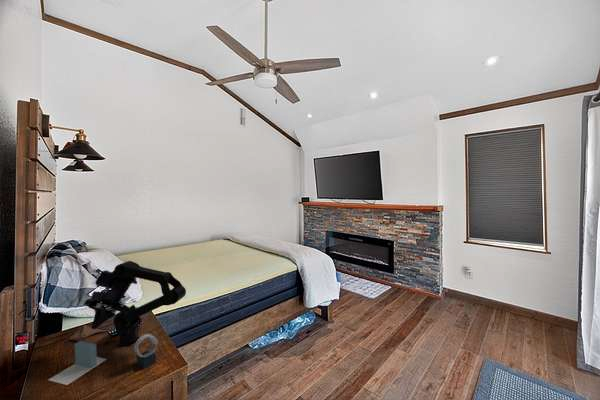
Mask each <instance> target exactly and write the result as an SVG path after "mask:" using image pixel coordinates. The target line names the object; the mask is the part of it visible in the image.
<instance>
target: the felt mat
mask: <svg viewBox="0 0 600 400" xmlns="http://www.w3.org/2000/svg"><path fill="white" fill-rule="evenodd" d="M106 360H107V358H104V357H99V356H97V365H96V366H94V367H93V368H88V367H84V366H80V365H75V363H74V364H72V365H71V366H69V367H67V368H66V369H63V370H62V371H60V372H59V373H57V374H55V375H54V376H52V377H50V378H49V379H48V381H49V382H54V383H57V384H61V385H65V386H68V385H69V384H71V383H73V382H74V381H76V380H78V379H79V378H80V377H82V376H83V375H85V374H86V373H88V372H89V371H91V370H92V369H94V368H96V367H97V366H99V365H100V364H102V363H104V362H105V361H106Z"/></svg>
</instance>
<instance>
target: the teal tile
mask: <svg viewBox="0 0 600 400" xmlns="http://www.w3.org/2000/svg"><path fill="white" fill-rule="evenodd" d="M97 355H98V354H97V345H96V344H93V343H88V342H83V341H79V342H75V343H74V360H75V361H74V364H75V365H80V366H84V367H88V368H93V367H94V366H96V365H97V357H98V356H97ZM97 366H98V365H97ZM97 366H96V367H97ZM94 368H95V367H94ZM94 368H93V369H94Z"/></svg>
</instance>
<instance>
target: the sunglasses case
mask: <svg viewBox="0 0 600 400" xmlns="http://www.w3.org/2000/svg"><path fill="white" fill-rule="evenodd" d="M91 327H92V326H91ZM91 327H90V326H88V325H84V324H83V326H81V328H79V329H78V330H77V331H76V332H74V334H72V335H71V336H70V337H69V338H68V339H66V341H68V342H74V343H77V342H79V341H83V342H88V343H93V344H96V346H98V345H100V344H102V343H104V342H106V341H108V340H109V339H112V338H113V334H112V333H111V332H110V331H105V330H103V329H100V328H96V329H92V328H91Z"/></svg>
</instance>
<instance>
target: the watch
mask: <svg viewBox="0 0 600 400" xmlns="http://www.w3.org/2000/svg"><path fill="white" fill-rule="evenodd" d="M145 339H147V340H148V341H149V343H151V344H152V346H151V348H150V349H147V350H146V351H143V352H140V350H139V345H140V344H141V342H143V340H145ZM158 343H159V340H158V339H157V338H156V336H154V335H152V333H145V334H143V335H141V336H140V338H139V339H138V340H137V341H136V342H135V343H134V347H133V351H134V353H135V354H136V364H137V365H139V367H140V368H142V369H143V370H146V369H147V368H149V367H151V366H152V365H155V364H156V363H157V361H156V360H157V359H156V358H157V356H156V354H155V353H154V352H155V350H156V349H157V346H158Z"/></svg>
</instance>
